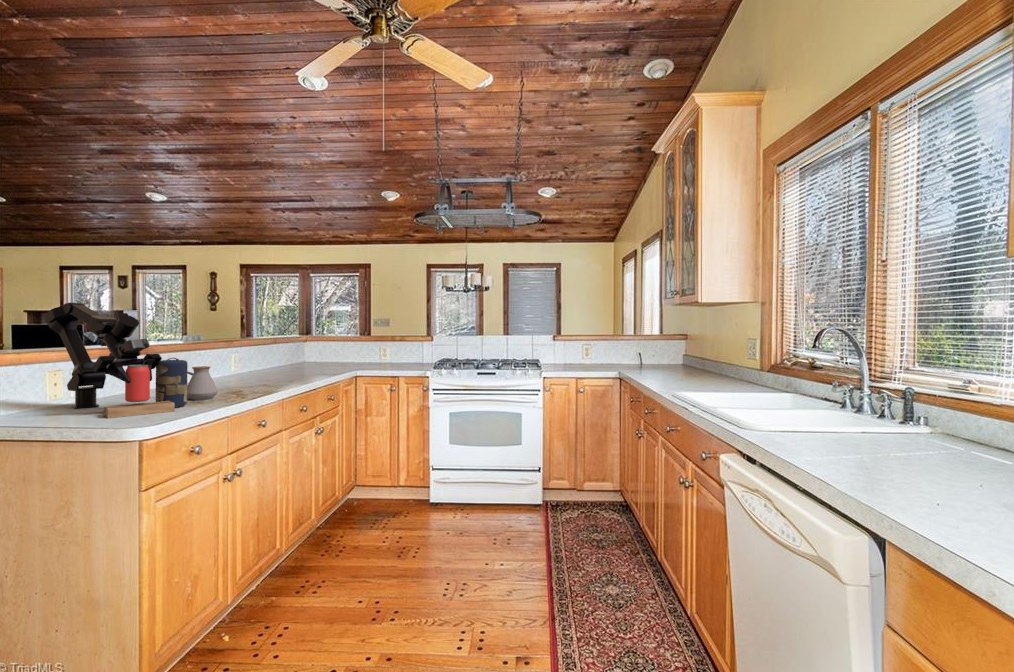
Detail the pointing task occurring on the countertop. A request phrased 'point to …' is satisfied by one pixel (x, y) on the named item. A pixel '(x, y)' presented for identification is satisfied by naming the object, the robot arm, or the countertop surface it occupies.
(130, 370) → the beer can
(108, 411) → the walnut beam
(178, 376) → the canister
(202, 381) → the coffee pot
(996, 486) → the countertop surface
